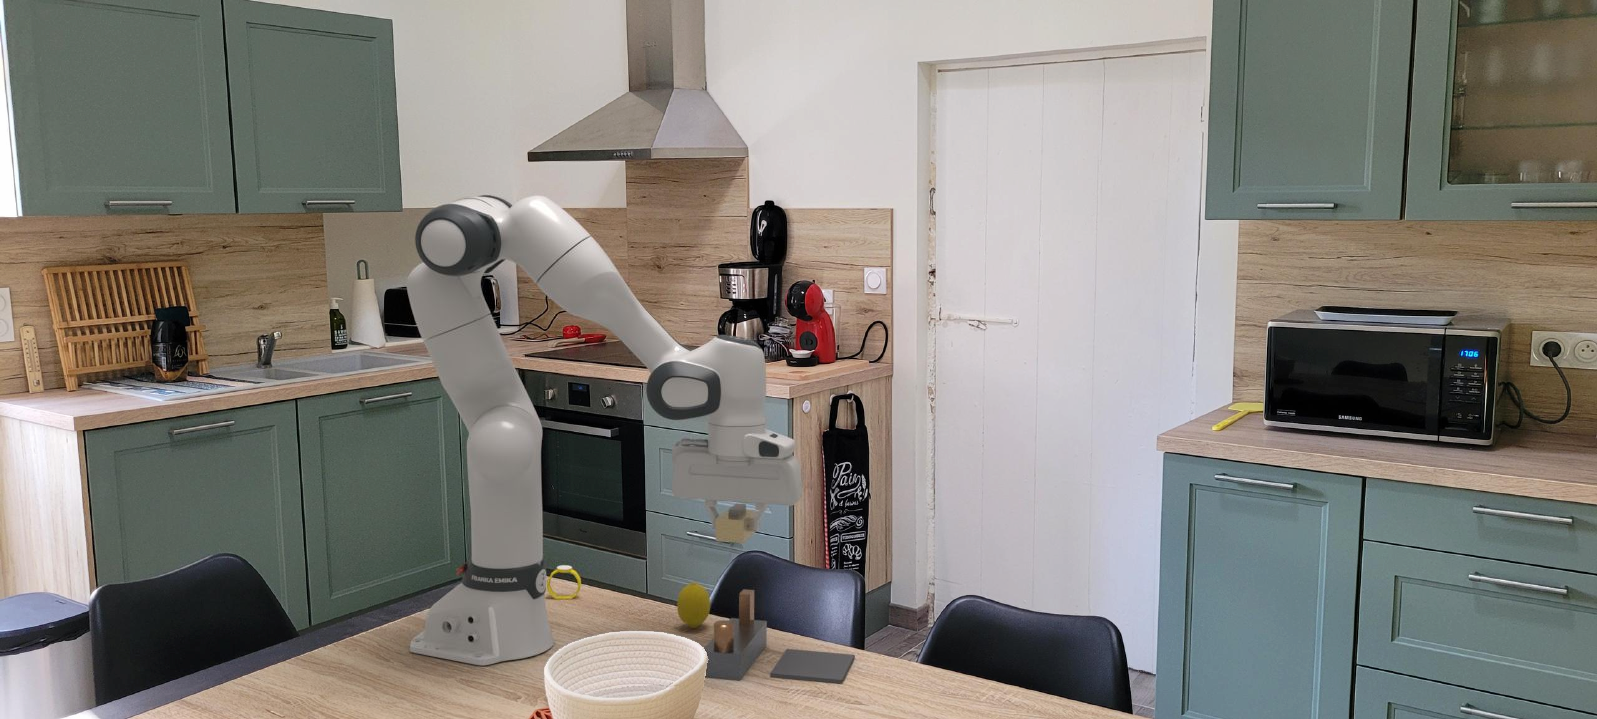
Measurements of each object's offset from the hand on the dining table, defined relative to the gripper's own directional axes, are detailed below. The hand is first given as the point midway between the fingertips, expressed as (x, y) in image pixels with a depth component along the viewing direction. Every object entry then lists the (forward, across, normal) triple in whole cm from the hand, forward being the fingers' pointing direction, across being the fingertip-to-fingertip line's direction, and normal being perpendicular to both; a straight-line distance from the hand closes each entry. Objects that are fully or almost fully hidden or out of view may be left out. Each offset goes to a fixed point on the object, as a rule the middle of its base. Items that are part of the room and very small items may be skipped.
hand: (735, 529), depth 179 cm
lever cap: (+1, 0, 0) cm, 1 cm away
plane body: (+21, 0, 0) cm, 21 cm away
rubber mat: (+21, +13, 0) cm, 24 cm away
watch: (+21, -39, +23) cm, 50 cm away
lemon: (+21, -11, +13) cm, 27 cm away
